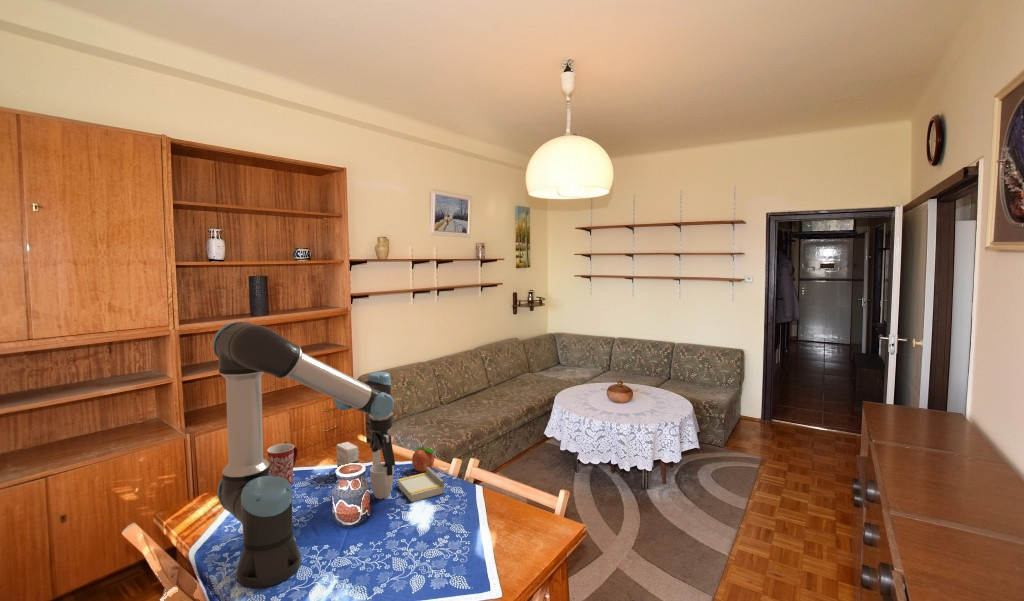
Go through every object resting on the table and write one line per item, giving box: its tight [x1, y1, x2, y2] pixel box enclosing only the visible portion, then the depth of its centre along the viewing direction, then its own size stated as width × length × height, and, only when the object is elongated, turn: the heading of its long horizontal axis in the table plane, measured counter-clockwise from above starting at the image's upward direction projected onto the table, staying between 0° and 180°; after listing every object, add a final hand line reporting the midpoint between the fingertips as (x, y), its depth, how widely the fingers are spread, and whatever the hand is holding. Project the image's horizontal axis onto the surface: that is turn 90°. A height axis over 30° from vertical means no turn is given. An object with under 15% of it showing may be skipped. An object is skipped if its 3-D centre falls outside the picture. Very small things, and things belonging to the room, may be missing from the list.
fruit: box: [411, 444, 435, 473], centre depth 190 cm, size 9×10×10 cm
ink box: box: [336, 441, 360, 467], centre depth 185 cm, size 9×5×12 cm, turn 47°
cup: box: [369, 462, 395, 500], centre depth 169 cm, size 8×8×10 cm
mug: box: [266, 443, 299, 485], centre depth 180 cm, size 13×9×14 cm
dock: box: [397, 467, 445, 503], centre depth 174 cm, size 14×12×4 cm
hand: (382, 476), depth 170 cm, fingers open, 13 cm apart
